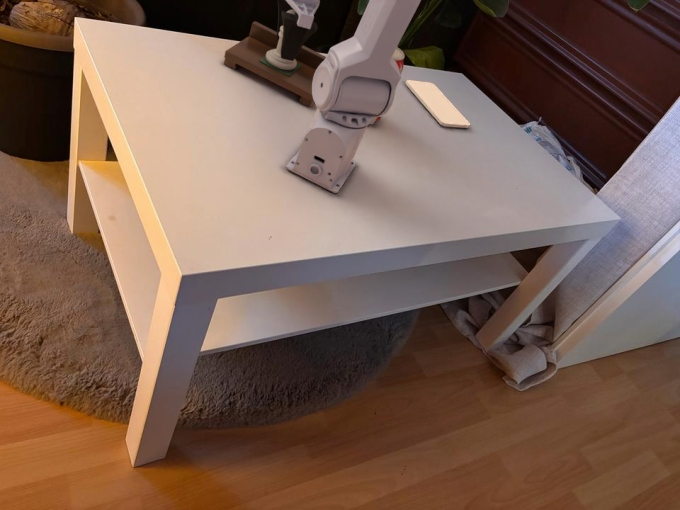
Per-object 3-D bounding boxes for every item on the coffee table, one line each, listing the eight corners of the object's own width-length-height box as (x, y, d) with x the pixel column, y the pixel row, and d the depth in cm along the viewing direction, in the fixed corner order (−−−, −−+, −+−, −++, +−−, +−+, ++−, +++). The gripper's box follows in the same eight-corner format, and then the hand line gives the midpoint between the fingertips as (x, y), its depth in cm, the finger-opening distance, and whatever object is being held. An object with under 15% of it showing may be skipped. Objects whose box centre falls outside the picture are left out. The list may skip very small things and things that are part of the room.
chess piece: (302, 69, 95) (318, 18, 89) (280, 73, 91) (296, 20, 85) (280, 52, 96) (295, 1, 90) (258, 56, 93) (272, 2, 87)
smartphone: (433, 82, 115) (472, 125, 107) (431, 86, 116) (470, 128, 107) (404, 79, 111) (443, 123, 103) (403, 82, 112) (441, 126, 103)
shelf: (308, 108, 92) (318, 82, 89) (222, 64, 92) (228, 36, 89) (328, 87, 99) (337, 62, 96) (248, 47, 100) (255, 21, 96)
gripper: (278, -60, 87) (257, 24, 96) (289, -24, 77) (265, 65, 86) (321, -46, 89) (296, 34, 98) (337, -9, 80) (308, 76, 88)
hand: (284, 49), depth 92 cm, fingers open, 5 cm apart
